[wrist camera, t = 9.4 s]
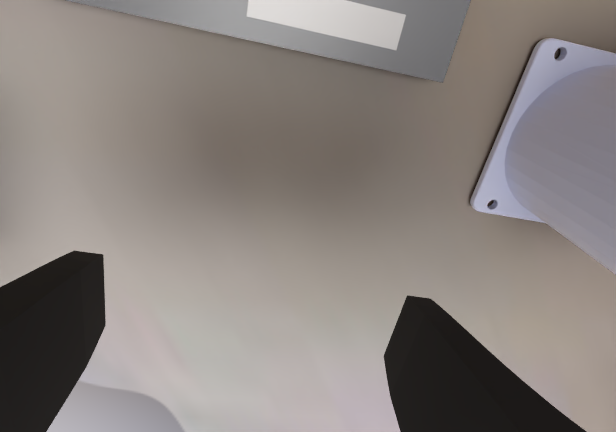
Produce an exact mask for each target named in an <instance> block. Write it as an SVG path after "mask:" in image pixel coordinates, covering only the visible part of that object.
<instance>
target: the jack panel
mask: <svg viewBox="0 0 616 432" xmlns="http://www.w3.org/2000/svg"><path fill="white" fill-rule="evenodd" d="M67 1H71V2H76V3H81V4H85V5H90V6H94V7H99V8H104V9H108V10H113V11H117V12H122V13H126V14H131V15H136V16H140V17H145V18H149V19H154V20H158V21H163V22H168V23H172V24H177V25H181V26H186V27H190V28H195V29H200V30H204V31H209V32H213V33H218V34H222V35H227V36H232V37H236V38H241V39H245V40H250V41H254V42H259V43H264V44H268V45H273V46H277V47H282V48H286V49H291V50H296V51H300V52H305V53H309V54H314V55H318V56H323V57H328V58H332V59H337V60H341V61H346V62H350V63H355V64H360V65H364V66H369V67H373V68H378V69H382V70H387V71H392V72H396V73H401V74H405V75H410V76H414V77H419V78H424V79H428V80H433V81H437V82H442V83H443V81H444V78H445V75H446V72H447V69H448V66H449V63H450V61H451V58H452V55H453V52H454V49H455V46H456V43H457V40H458V37H459V34H460V31H461V28H462V25H463V22H464V19H465V16H466V13H467V10H468V7H469V4H470V1H471V0H67Z"/></svg>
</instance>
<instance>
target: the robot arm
mask: <svg viewBox="0 0 616 432" xmlns="http://www.w3.org/2000/svg"><path fill="white" fill-rule="evenodd" d="M558 48H560V50H561V53H560V56H559V57H558V58H557V59H555V58H554V54H555V52H556V50H557V49H558ZM491 200H494V202H493V204H492V205H490V206H487V205H488V203H489V201H491ZM470 203H471V206H472V207H473V208H474V209H475V210H476V211H479V212H484V213H490V214H496V215H501V216H507V217H513V218H519V219H525V220H531V221H536V222H542V223H546V224H548V225H549V226H550V227H552V228H553V229H554V230H556V231H557V232H559V233H560V234H561V235H563V236H564V237H565V238H567V239H568V240H569V241H571V242H572V243H573V244H575V245H576V246H577V247H579V248H580V249H581V250H583V251H584V252H585V253H587V254H588V255H590V256H591V257H592V258H594V259H595V260H596V261H598V262H599V263H600V264H602V265H603V266H604V267H606V268H607V269H608V270H610V271H611V272H612V273H614V274H615V275H616V53H612V52H608V51H604V50H600V49H596V48H592V47H588V46H584V45H580V44H576V43H572V42H568V41H564V40H559V39H555V38H545V39H543V40H541V41H540V42H538V43H537V45H536V46H535V48H534V50H533V52H532V55H531V57H530V59H529V62H528V64H527V67H526V69H525V71H524V74H523V76H522V78H521V81H520V83H519V86H518V88H517V90H516V93H515V95H514V97H513V100H512V102H511V105H510V107H509V109H508V112H507V114H506V116H505V119H504V121H503V124H502V126H501V128H500V131H499V133H498V135H497V138H496V140H495V143H494V145H493V147H492V150H491V152H490V154H489V157H488V159H487V162H486V164H485V166H484V169H483V171H482V174H481V176H480V178H479V181H478V183H477V185H476V188H475V190H474V193H473V195H472V197H471V201H470ZM104 327H105V295H104V265H103V255H102V254H95V253H87V252H80V251H73V252H70V253H68V254H66V255H64V256H62V257H59V258H57V259H55V260H53V261H51V262H49V263H47V264H45V265H43V266H41V267H39V268H37V269H35V270H34V271H32V272H30V273H28V274H26V275H24V276H22V277H20V278H18V279H16V280H14V281H12V282H10V283H8V284H6V285H4V286H2V287H0V432H46V431H47V430H48V428H49V426H50V425H51V423H52V422H53V420H54V418H55V417H56V415H57V414H58V412H59V410H60V409H61V407H62V406H63V404H64V402H65V401H66V399H67V398H68V396H69V394H70V393H71V391H72V389H73V388H74V386H75V385H76V383H77V381H78V380H79V378H80V376H81V375H82V373H83V371H84V370H85V368H86V366H87V364H88V362H89V360H90V358H91V356H92V354H93V352H94V350H95V347H96V345H97V343H98V341H99V338H100V336H101V334H102V332H103V329H104ZM384 360H385V367H386V374H387V380H388V386H389V391H390V396H391V400H392V404H393V407H394V410H395V414H396V417H397V421H398V424H399V428H400V431H401V432H586V431H585V430H584V429H582V428H581V427H580V426H578V425H577V424H576V423H574V422H573V421H571V420H570V419H569V418H568V417H566V416H565V415H564V414H562V413H561V412H560V411H559V410H557V409H556V408H555V407H554V406H552V405H551V404H550V403H549V402H547V401H546V400H545V399H544V398H543V397H541V396H540V395H539V394H538V393H537V392H535V391H534V390H533V389H532V388H531V387H529V386H528V385H527V384H526V383H525V382H523V381H522V380H521V379H520V378H519V377H518V376H516V375H515V374H514V373H513V372H512V371H511V370H510V369H508V368H507V367H506V366H505V365H504V364H503V363H502V362H501V361H499V360H498V359H497V358H496V357H495V356H494V355H493V354H492V353H491V352H489V351H488V350H487V349H486V348H485V347H484V346H483V345H482V344H481V343H480V342H478V341H477V340H476V339H475V338H474V337H473V336H472V335H471V334H470V333H469V332H468V331H467V330H465V329H464V328H463V327H462V326H461V325H460V324H459V323H458V322H457V321H456V320H455V319H453V318H452V317H451V316H450V315H449V314H448V313H447V312H446V311H445V310H443V309H442V308H441V307H440V306H439V305H438V304H436V303H435V302H434V301H433V300H431V299H429V298H422V297H414V296H407V298H406V300H405V303H404V305H403V308H402V310H401V313H400V316H399V318H398V321H397V323H396V326H395V328H394V331H393V334H392V336H391V339H390V341H389V344H388V346H387V349H386V352H385V354H384Z"/></svg>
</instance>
